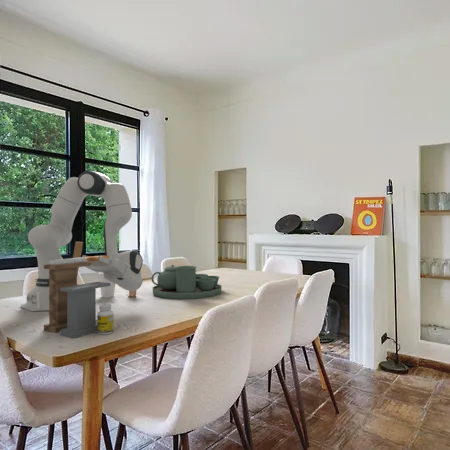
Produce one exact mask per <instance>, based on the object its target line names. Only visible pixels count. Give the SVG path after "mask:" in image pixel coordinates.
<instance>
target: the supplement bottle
mask: <svg viewBox="0 0 450 450" xmlns="http://www.w3.org/2000/svg"><path fill="white" fill-rule="evenodd" d="M96 317H97V318H96V320H97V331H96V332H97V334H98V335H103V336H104V335H105V336H106V335H111V334H112V333H114V312H113V310H112V305H111V303H110V304H109V303H104V304H100V305H99V311H98V312H97V316H96Z"/></svg>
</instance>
